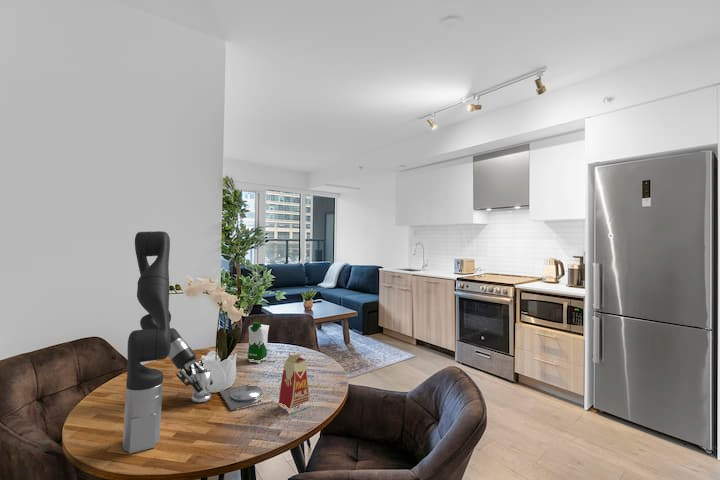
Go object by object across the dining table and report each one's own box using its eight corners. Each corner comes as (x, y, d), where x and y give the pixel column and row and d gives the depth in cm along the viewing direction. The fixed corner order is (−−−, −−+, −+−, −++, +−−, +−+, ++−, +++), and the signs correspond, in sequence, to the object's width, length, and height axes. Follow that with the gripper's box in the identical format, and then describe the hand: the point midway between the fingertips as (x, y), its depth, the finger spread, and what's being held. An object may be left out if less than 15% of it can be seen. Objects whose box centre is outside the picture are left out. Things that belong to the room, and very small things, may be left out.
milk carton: (310, 406, 127) (313, 353, 127) (289, 414, 120) (292, 357, 121) (297, 398, 133) (299, 347, 134) (276, 405, 127) (278, 351, 127)
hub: (212, 400, 128) (213, 373, 128) (193, 403, 124) (194, 376, 125) (208, 393, 133) (210, 367, 134) (190, 397, 130) (191, 370, 130)
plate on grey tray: (273, 401, 130) (274, 396, 130) (230, 411, 121) (230, 405, 121) (258, 384, 144) (259, 380, 144) (219, 392, 135) (219, 387, 135)
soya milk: (244, 362, 171) (246, 322, 172) (255, 357, 180) (257, 319, 180) (259, 364, 169) (261, 324, 169) (269, 359, 177) (271, 321, 178)
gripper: (173, 352, 124) (200, 389, 121) (198, 342, 138) (223, 374, 135) (159, 365, 124) (186, 402, 122) (186, 353, 139) (211, 386, 136)
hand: (206, 387), depth 129 cm, fingers closed on hub, 5 cm apart
